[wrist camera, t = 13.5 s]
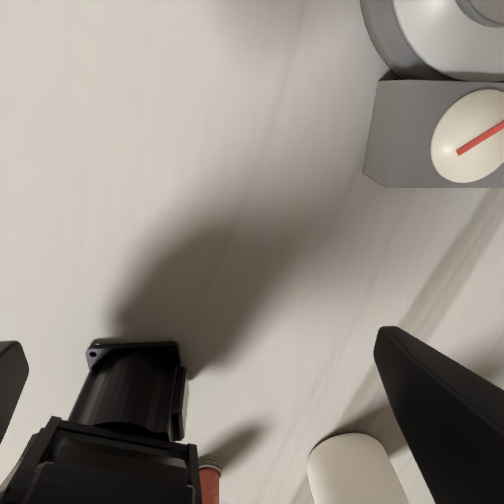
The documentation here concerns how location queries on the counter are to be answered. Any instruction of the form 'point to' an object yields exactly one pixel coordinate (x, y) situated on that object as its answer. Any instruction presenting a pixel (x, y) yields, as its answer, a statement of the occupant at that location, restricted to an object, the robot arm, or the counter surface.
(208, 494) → the lighter
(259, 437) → the counter surface
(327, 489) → the milk bottle
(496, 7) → the disc
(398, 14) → the kitchen scale
